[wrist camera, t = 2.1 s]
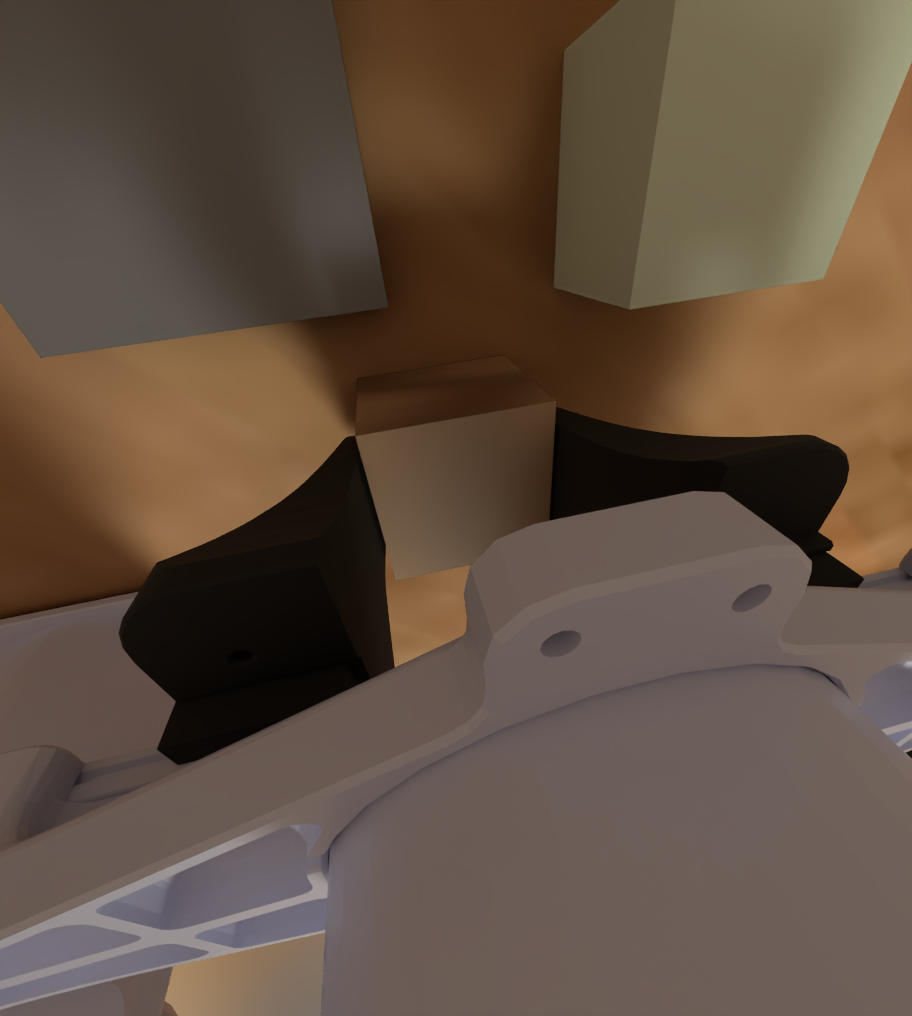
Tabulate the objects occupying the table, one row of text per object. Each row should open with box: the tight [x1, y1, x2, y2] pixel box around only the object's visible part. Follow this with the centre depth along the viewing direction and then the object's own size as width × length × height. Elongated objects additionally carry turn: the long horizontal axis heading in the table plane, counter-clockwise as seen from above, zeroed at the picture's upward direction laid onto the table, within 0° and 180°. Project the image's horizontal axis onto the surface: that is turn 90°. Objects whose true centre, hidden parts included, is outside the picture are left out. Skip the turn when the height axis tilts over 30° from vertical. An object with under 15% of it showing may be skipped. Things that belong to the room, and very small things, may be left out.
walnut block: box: [355, 355, 556, 580], centre depth 11 cm, size 4×4×4 cm
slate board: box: [0, 0, 388, 358], centre depth 7 cm, size 8×8×1 cm
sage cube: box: [554, 0, 912, 310], centre depth 8 cm, size 4×4×4 cm
